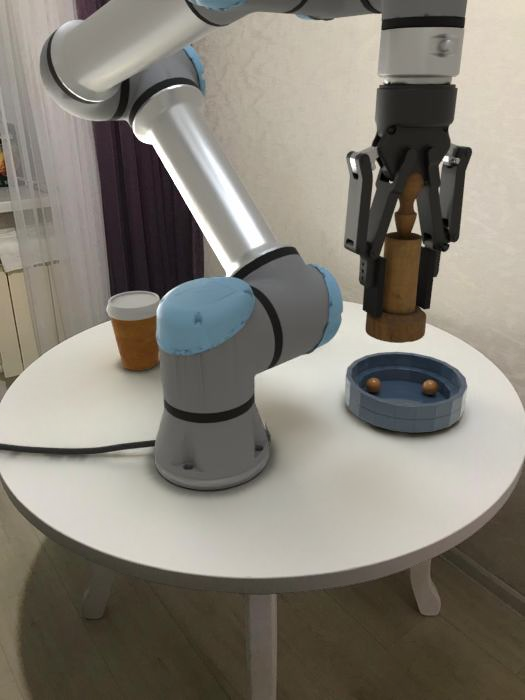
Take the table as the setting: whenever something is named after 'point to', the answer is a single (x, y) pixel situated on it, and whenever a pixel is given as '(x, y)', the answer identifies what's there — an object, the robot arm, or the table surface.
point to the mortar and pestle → (401, 275)
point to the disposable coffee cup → (135, 328)
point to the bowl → (405, 392)
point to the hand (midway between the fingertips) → (396, 308)
